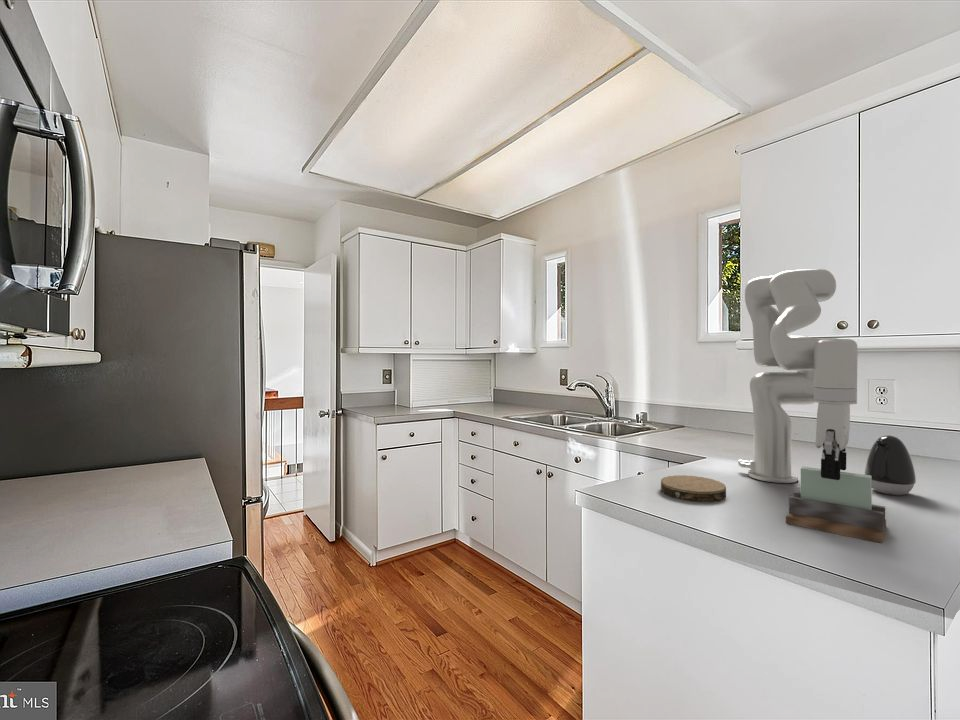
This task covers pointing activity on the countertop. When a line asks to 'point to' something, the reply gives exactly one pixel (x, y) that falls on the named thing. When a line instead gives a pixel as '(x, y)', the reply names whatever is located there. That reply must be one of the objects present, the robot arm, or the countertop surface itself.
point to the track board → (837, 518)
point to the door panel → (837, 488)
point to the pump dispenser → (890, 466)
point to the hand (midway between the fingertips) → (833, 473)
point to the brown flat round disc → (693, 488)
